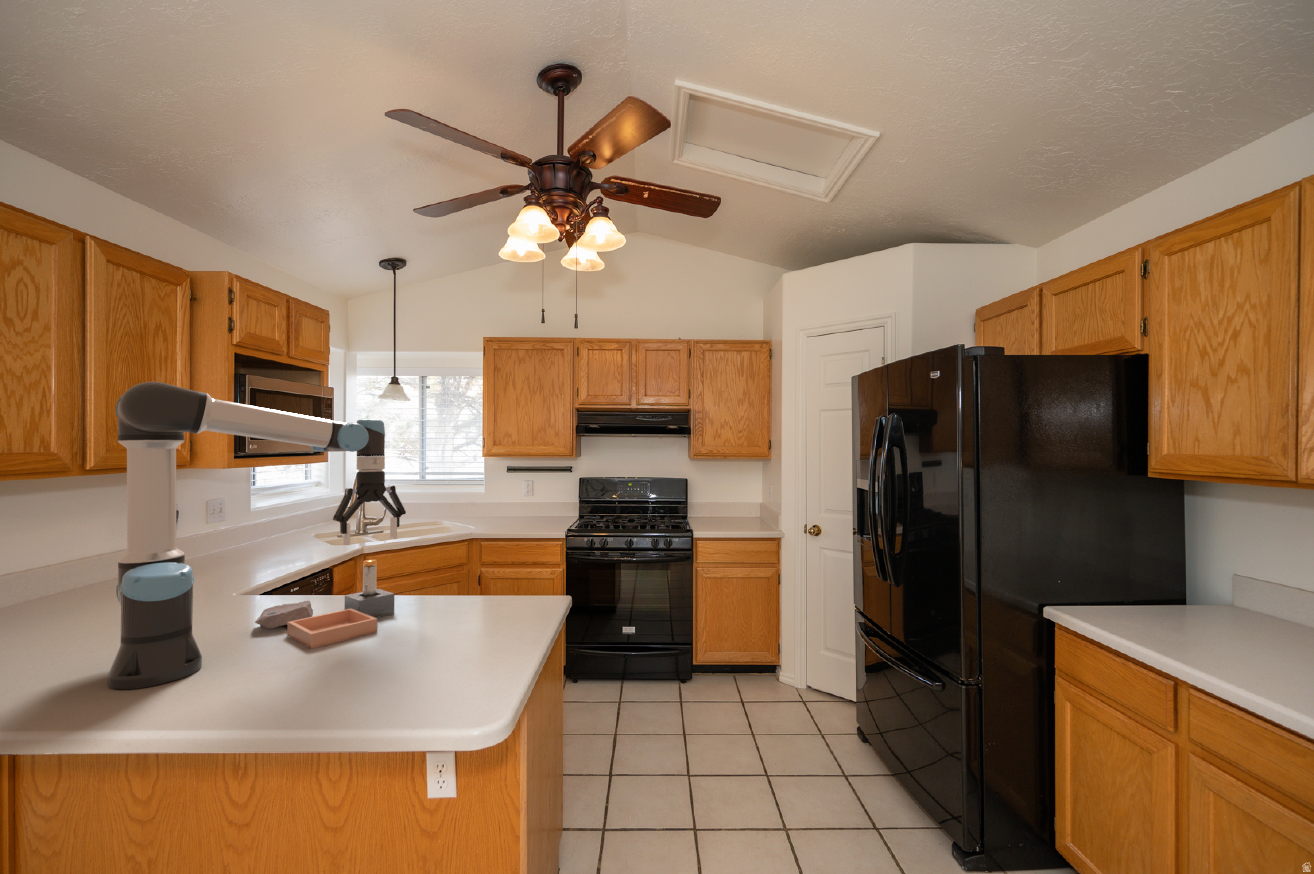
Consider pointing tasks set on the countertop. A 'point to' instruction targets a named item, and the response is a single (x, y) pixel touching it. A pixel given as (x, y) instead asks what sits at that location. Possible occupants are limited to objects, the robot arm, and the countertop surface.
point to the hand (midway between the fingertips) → (371, 541)
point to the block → (371, 603)
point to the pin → (369, 578)
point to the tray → (331, 627)
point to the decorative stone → (284, 614)
